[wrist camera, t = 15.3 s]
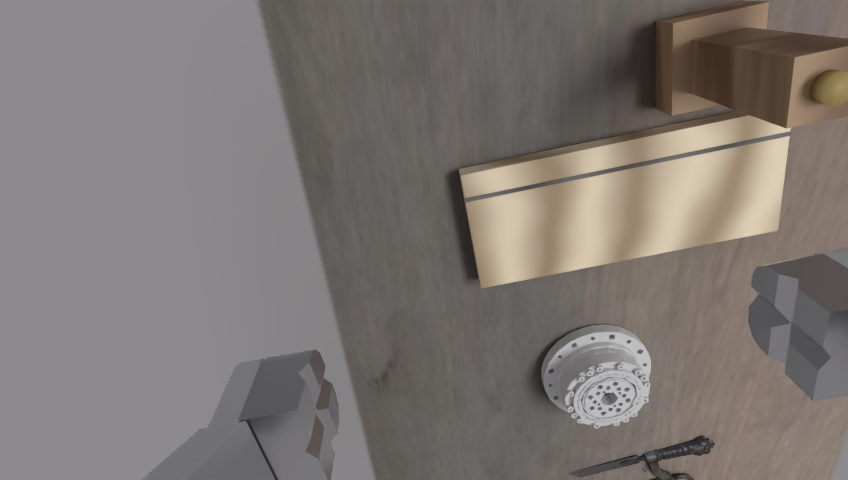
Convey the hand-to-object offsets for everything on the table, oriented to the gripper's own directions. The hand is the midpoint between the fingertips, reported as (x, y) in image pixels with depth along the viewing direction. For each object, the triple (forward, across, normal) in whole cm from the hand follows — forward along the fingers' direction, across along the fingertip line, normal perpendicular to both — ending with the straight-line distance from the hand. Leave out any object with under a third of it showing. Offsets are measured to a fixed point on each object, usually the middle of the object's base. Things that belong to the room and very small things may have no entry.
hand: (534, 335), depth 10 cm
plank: (+29, -12, +12) cm, 34 cm away
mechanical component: (+30, -10, +29) cm, 42 cm away
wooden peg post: (+29, -18, +2) cm, 35 cm away
